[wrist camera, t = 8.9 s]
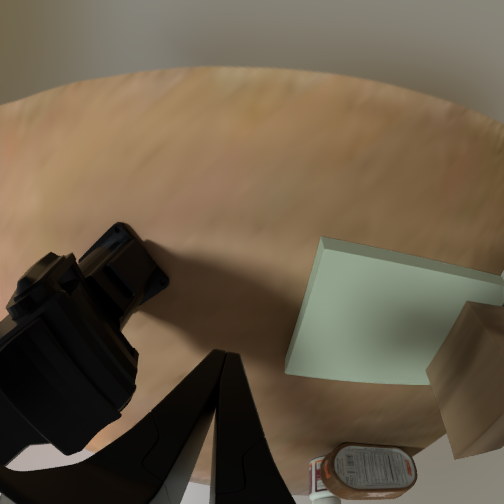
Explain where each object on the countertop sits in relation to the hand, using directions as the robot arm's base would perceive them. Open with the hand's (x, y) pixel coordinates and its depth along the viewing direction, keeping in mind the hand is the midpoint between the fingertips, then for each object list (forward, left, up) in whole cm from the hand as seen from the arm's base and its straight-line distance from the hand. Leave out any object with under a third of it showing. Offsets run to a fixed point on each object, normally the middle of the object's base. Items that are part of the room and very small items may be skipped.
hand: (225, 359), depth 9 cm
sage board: (+5, -14, -13) cm, 20 cm away
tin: (-6, -35, -13) cm, 38 cm away
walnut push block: (+10, -19, -11) cm, 24 cm away
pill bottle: (-13, -35, -13) cm, 40 cm away
